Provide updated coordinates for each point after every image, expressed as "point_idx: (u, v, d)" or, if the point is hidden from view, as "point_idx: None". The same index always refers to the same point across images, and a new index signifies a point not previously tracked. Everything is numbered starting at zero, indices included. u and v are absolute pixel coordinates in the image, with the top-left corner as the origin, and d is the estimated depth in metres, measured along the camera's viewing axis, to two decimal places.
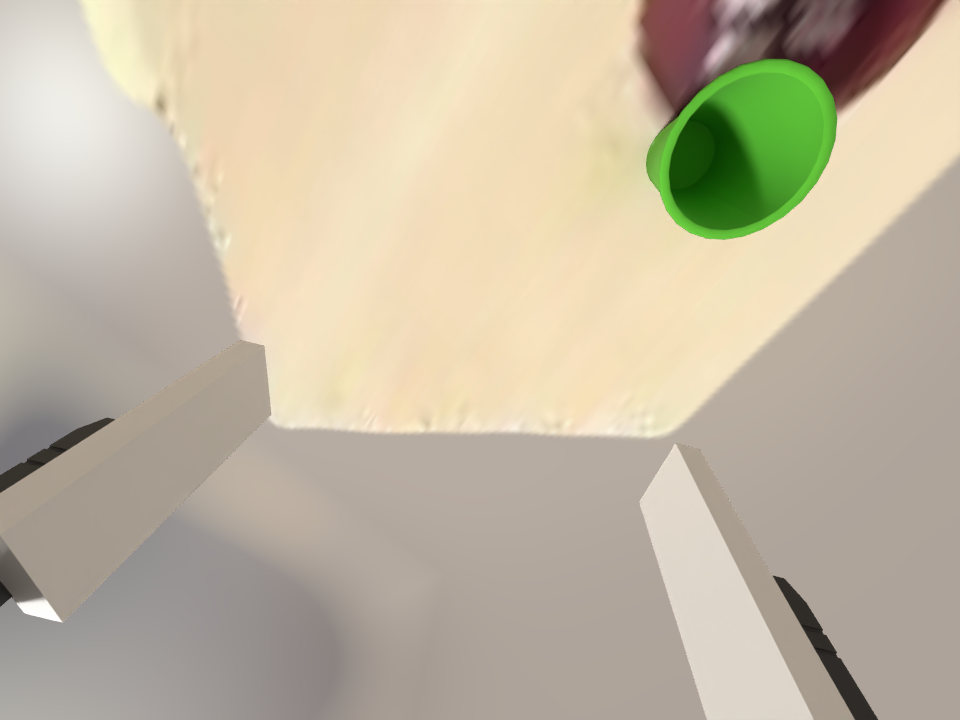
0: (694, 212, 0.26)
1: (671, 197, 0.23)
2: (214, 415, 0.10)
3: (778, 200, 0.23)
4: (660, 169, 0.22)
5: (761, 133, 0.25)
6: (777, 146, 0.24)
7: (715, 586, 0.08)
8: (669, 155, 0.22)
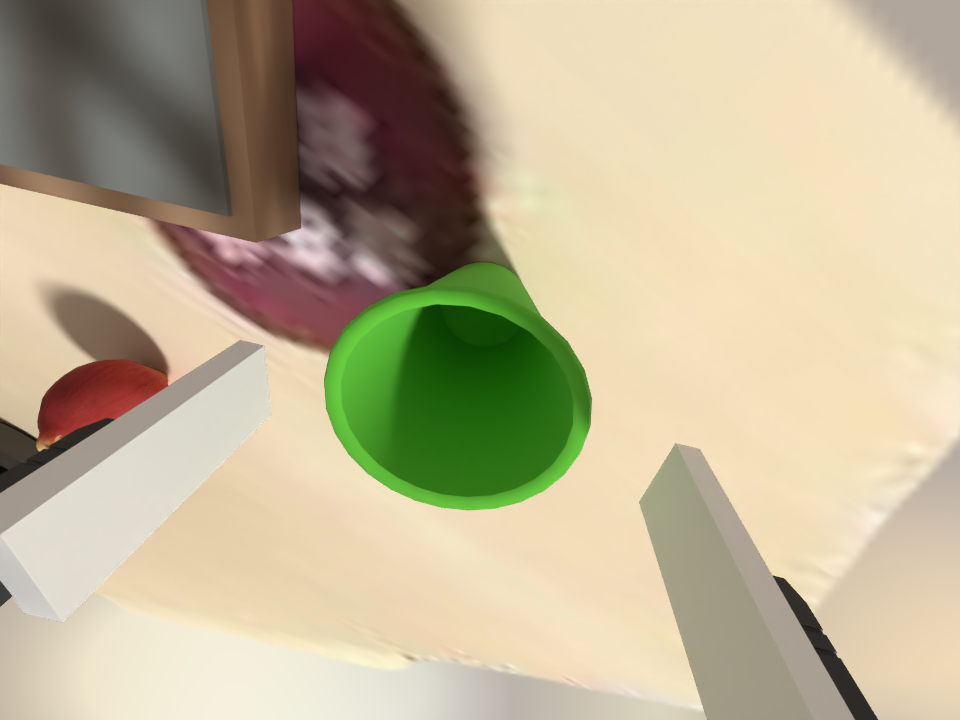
0: (546, 383, 0.16)
1: (502, 495, 0.14)
2: (214, 415, 0.10)
3: None
4: None
5: None
6: None
7: (715, 586, 0.08)
8: (443, 497, 0.15)
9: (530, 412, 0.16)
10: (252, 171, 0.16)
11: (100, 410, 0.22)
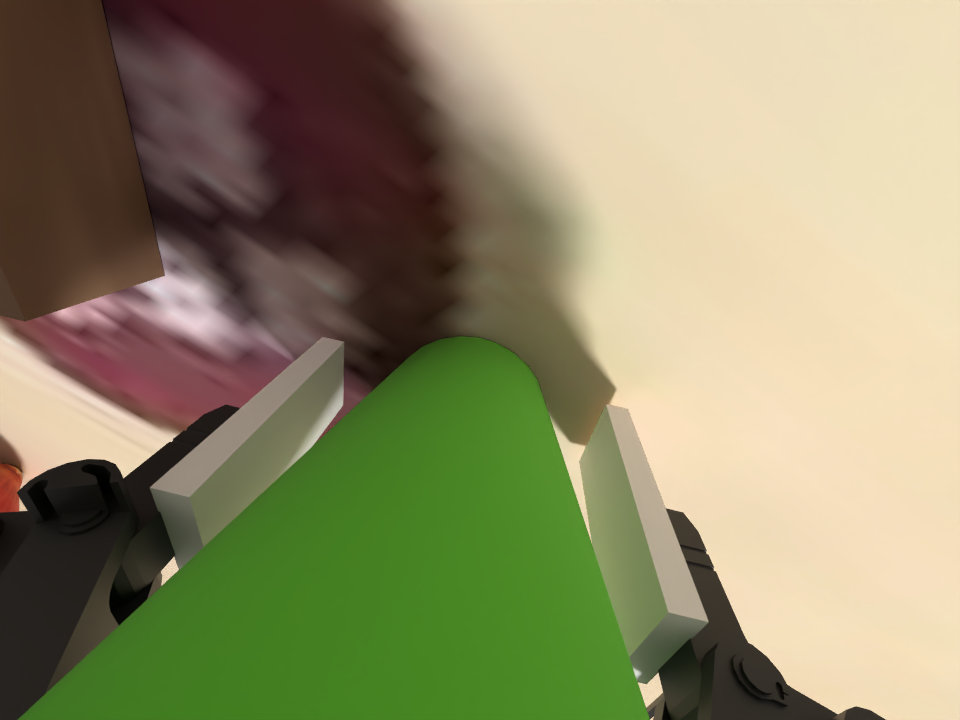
0: None
1: None
2: (310, 404, 0.11)
3: None
4: None
5: None
6: None
7: (619, 517, 0.10)
8: None
9: None
10: None
11: None
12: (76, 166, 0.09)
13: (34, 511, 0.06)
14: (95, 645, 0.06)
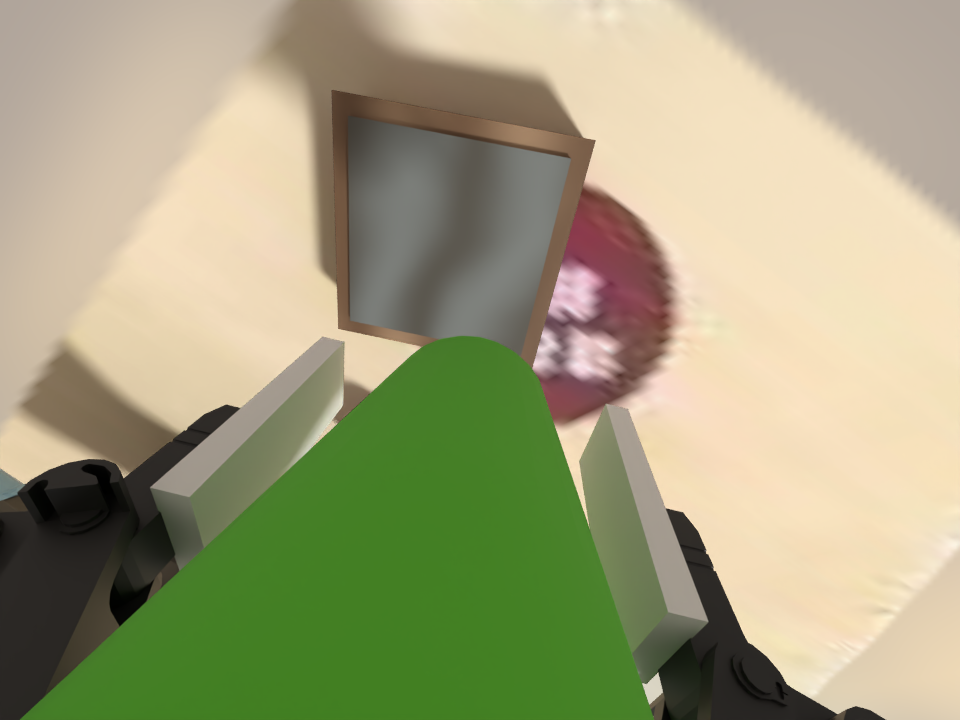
0: None
1: None
2: (310, 404, 0.11)
3: None
4: None
5: None
6: None
7: (619, 517, 0.10)
8: None
9: None
10: (542, 329, 0.25)
11: None
12: None
13: (35, 511, 0.06)
14: (95, 645, 0.06)
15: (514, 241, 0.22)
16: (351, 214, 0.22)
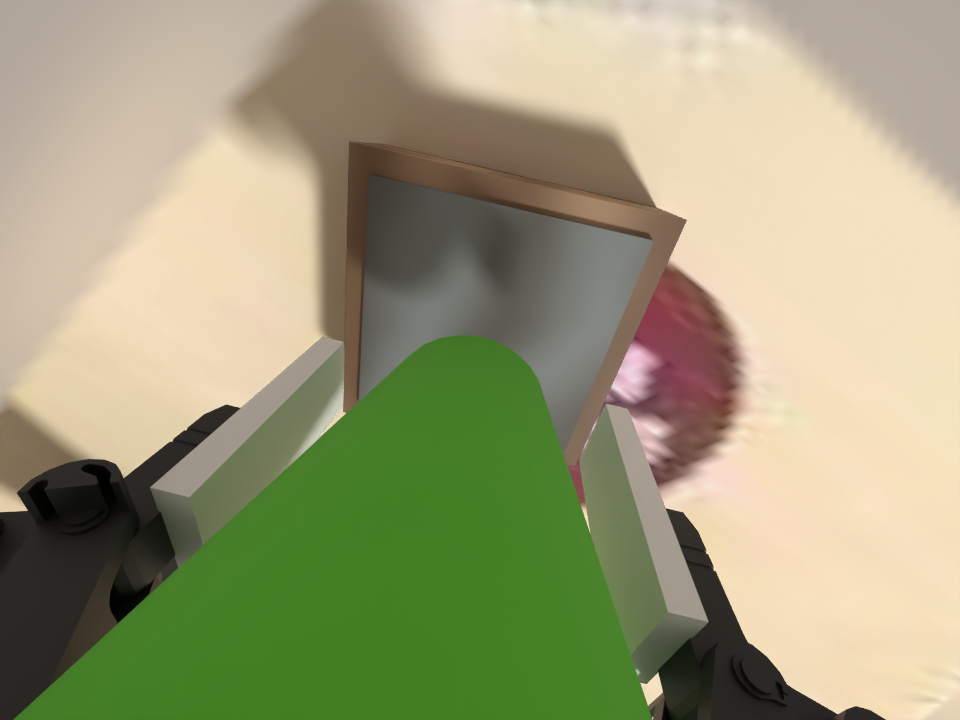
0: None
1: None
2: (310, 404, 0.11)
3: None
4: None
5: None
6: None
7: (619, 517, 0.10)
8: None
9: None
10: (592, 424, 0.21)
11: None
12: None
13: (34, 511, 0.06)
14: None
15: (570, 330, 0.18)
16: (366, 289, 0.18)
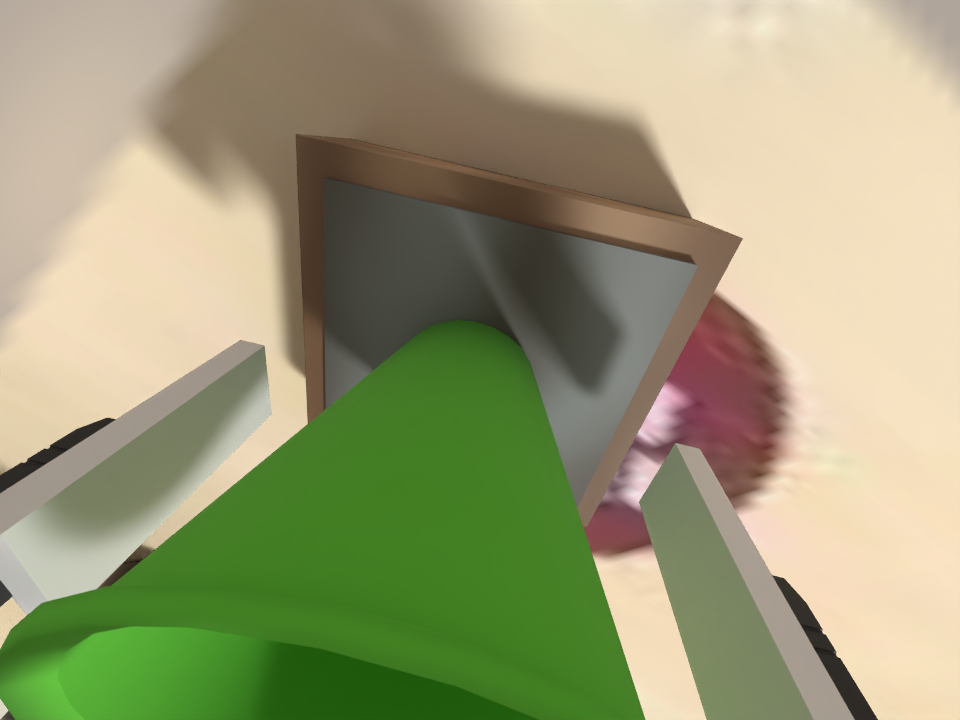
0: None
1: None
2: (214, 415, 0.10)
3: None
4: None
5: None
6: None
7: (715, 586, 0.08)
8: None
9: None
10: (608, 480, 0.17)
11: None
12: None
13: None
14: None
15: (584, 374, 0.14)
16: (328, 321, 0.14)
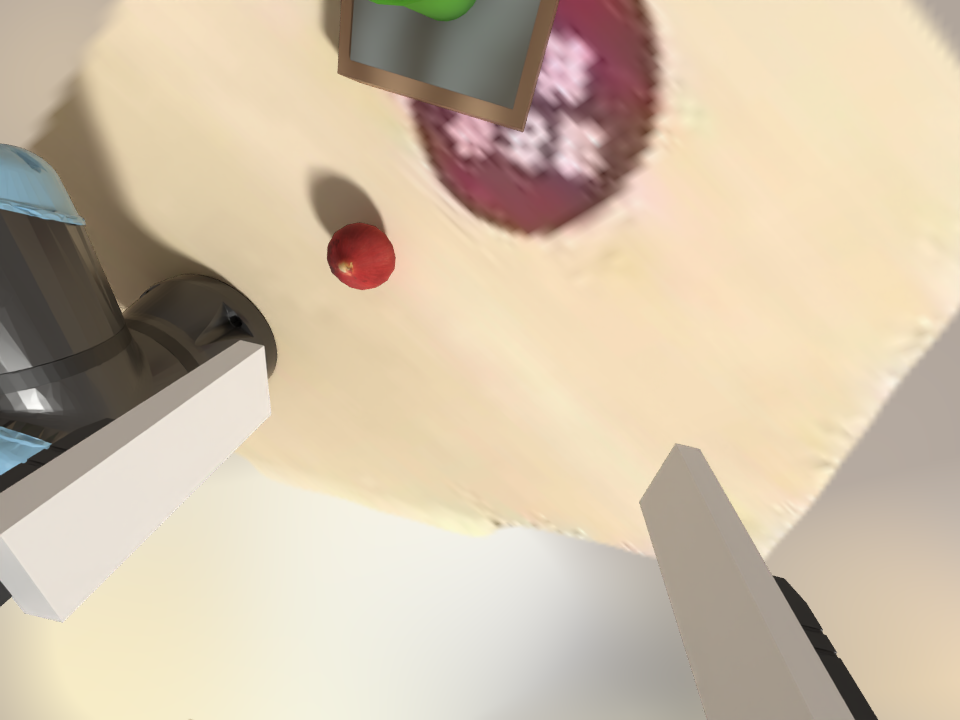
0: None
1: None
2: (214, 415, 0.10)
3: None
4: (394, 3, 0.16)
5: None
6: None
7: (715, 586, 0.08)
8: None
9: None
10: (535, 80, 0.26)
11: (373, 250, 0.31)
12: (536, 79, 0.28)
13: None
14: None
15: None
16: None
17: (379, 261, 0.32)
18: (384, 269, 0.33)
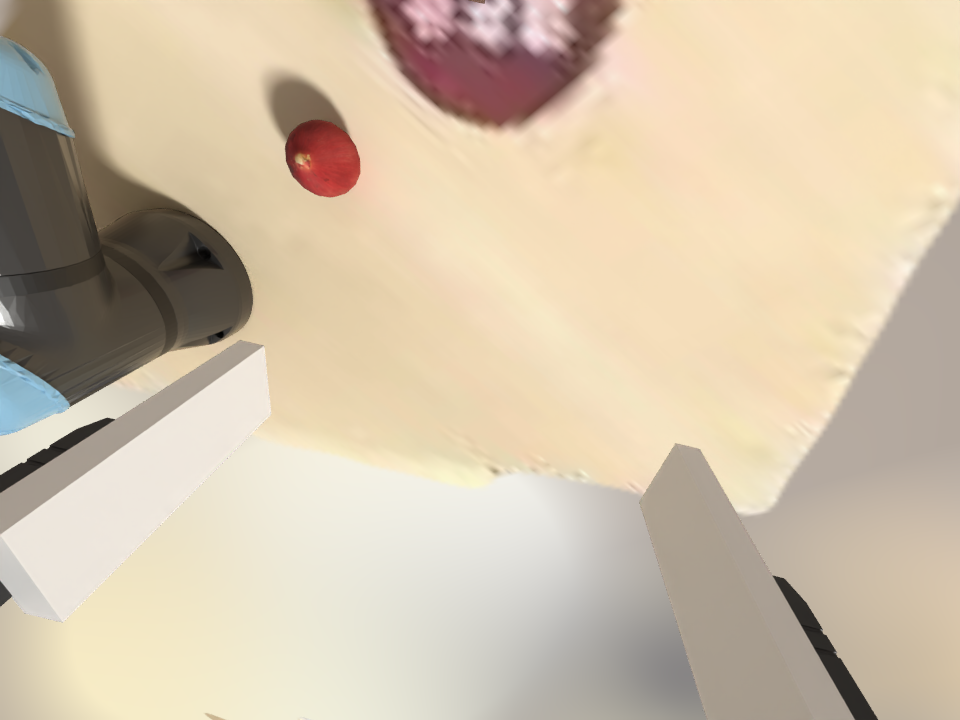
0: None
1: None
2: (214, 415, 0.10)
3: None
4: None
5: None
6: None
7: (715, 586, 0.08)
8: None
9: None
10: None
11: (332, 143, 0.29)
12: None
13: None
14: None
15: None
16: None
17: (340, 157, 0.30)
18: (347, 168, 0.31)
